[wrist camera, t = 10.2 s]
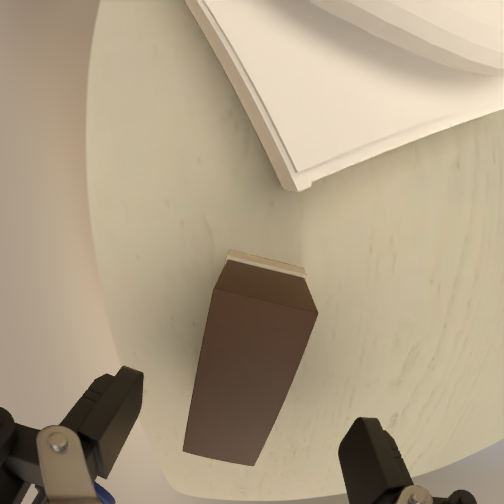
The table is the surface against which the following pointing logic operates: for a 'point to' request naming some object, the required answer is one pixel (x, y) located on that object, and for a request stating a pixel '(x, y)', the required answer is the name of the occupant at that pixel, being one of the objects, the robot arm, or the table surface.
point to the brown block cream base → (248, 357)
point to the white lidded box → (354, 73)
